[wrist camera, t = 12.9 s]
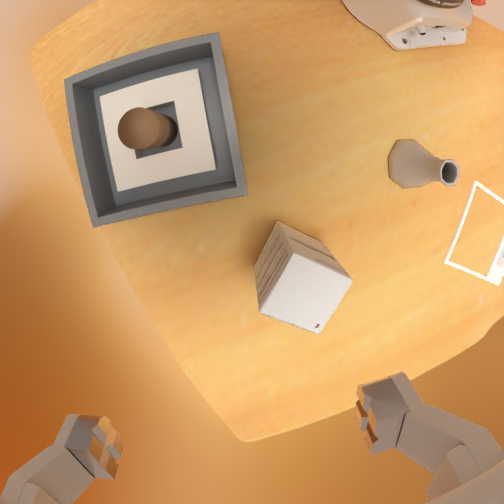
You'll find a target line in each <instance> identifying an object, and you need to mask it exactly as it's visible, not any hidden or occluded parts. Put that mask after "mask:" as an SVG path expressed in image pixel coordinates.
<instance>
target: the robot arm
mask: <svg viewBox="0 0 504 504" xmlns="http://www.w3.org/2000/svg"><path fill="white" fill-rule="evenodd" d="M342 2H343V3H344V5H345V6H346V7H347V9H348V10H349V11H350V12H351V13H352V14H353V15H354V16H355V17H356V18H357V19H358V20H359V21H361V22H362V23H363V24H365V25H366V26H368V27H369V28H371V29H372V30H374V31H376V32H377V33H379V34H380V35H381V36H382V37H383V39H384V40H385V41H386V42H387V43H388V44H389V45H390V46H391V47H392V48H393V49H394V50H397V51H402V50H409V49H418V48H427V47H438V46H451V45H462V44H464V43H465V41H466V36H467V27H468V26H469V25H470V24H471V22H472V8H471V4H470V0H342ZM471 3H472V4H473V5H477V6H482V5H484V4H486V2H485V0H471ZM402 40H404V41H405V43H403V41H402ZM357 396H358V398H359V400H358V401H357V402H356V415H357V420H358V424H359V426H360V429H361V430H363V431H365V432H366V433H365V442H366V444H367V447H368V449H369V452H370V454H371V455H372V454H375V453H378V452H382V451H385V450H389V449H391V448H395V447H396V449H397V450H399V451H400V452H402V453H403V454H405V455H406V456H408V457H409V458H411V459H412V460H414V461H415V462H417V463H418V464H420V465H421V466H423V467H424V468H426V469H427V470H429V471H430V472H432V473H433V474H435V476H434V477H433V479H432V481H431V482H430V484H429V485H428V487H427V489H426V492H427V495H428V497H429V499H430V500H429V501H427V502H425V503H423V504H504V452H503V451H502V449H501V448H500V446H499V445H498V443H497V442H496V440H495V439H494V437H493V436H492V435H491V433H490V431H489V430H488V429H486V428H484V427H482V426H479V425H477V424H474V423H472V422H469V421H467V420H465V419H462V418H460V417H458V416H455V415H453V414H451V413H448V412H446V411H444V410H442V409H439V408H437V407H435V406H432V405H430V404H429V405H425V404H424V402H423V401H422V399H421V397H420V396H419V394H418V393H417V391H416V389H415V388H414V386H413V385H412V383H411V382H410V380H409V379H408V377H407V376H406V374H405V373H404V372H400V373H397V374H394V375H391V376H388V377H384V378H381V379H378V380H374V381H371V382H368V383H364V384H361V385H358V387H357ZM122 444H123V443H122V439H121V436H120V434H119V433H118V432H117V431H116V430H115V429H113V428H112V427H111V422H110V420H109V419H108V418H107V417H104V416H92V415H78V414H69V415H68V416H67V417H66V419H65V421H64V423H63V425H62V427H61V429H60V431H59V433H58V436H57V438H56V440H55V442H54V444H53V446H49V447H47V448H46V449H45V450H43V451H42V452H41V453H40V454H38V455H37V456H36V457H34V458H33V459H31V460H30V461H29V462H27V463H26V464H25V465H23V466H22V467H21V468H19V469H18V470H17V471H15V472H14V473H13V474H11V475H10V477H9V479H8V482H7V484H6V486H5V488H4V490H3V493H2V495H1V498H0V504H72V503H73V502H74V501H75V500H76V499H77V498H78V497H79V496H80V495H81V493H83V491H84V490H85V489H86V488H87V487H88V486H89V485H90V484H91V482H92V481H93V480H94V479H95V478H103V479H113V480H114V479H115V477H116V473H117V469H118V463H117V461H116V459H118V458H119V457H120V456H121V453H122V450H123V445H122Z"/></svg>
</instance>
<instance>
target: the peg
mask: <svg viewBox="0 0 504 504" xmlns="http://www.w3.org/2000/svg"><path fill="white" fill-rule="evenodd" d="M177 133H178V127H177V124H176V122H175V121H174V119H172V118H171V117H169V116H167V115H164V114H161V113H158V112H155V111H152V110H149V109H146V108H143V107H137V108H133V109H131V110H129V111H127V112H126V113H125V114H124V115H123V116H122V118H121V119H120V121H119V124H118V136H119V139H120V141H121V142H122V143H123V144H124V145H125V146H126V147H128V148H130V149H135V150H137V149H147V148H156V147H165V146H168V145H169V144H171V143H172V142H173V141H174V140H175V138H176V136H177Z"/></svg>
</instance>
